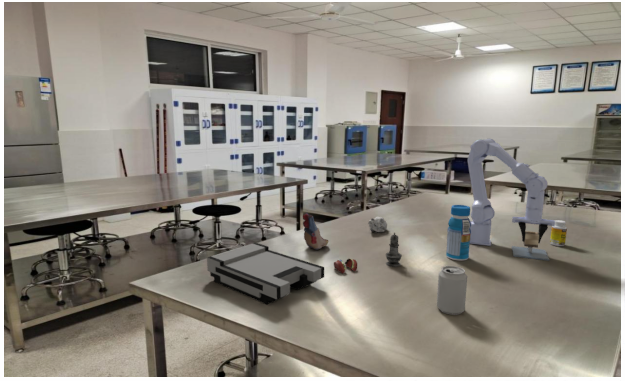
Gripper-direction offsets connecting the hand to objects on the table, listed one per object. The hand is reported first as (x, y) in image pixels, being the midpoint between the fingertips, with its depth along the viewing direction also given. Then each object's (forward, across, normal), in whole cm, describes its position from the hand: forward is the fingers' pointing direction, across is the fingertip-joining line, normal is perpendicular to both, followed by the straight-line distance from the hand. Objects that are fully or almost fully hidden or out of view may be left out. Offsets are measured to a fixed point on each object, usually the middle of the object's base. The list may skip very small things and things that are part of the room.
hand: (530, 241), depth 158 cm
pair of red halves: (+5, -61, -45) cm, 76 cm away
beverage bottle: (+5, -26, -16) cm, 31 cm away
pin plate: (+5, 0, 0) cm, 5 cm away
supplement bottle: (+5, +12, +18) cm, 22 cm away
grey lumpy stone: (+5, -63, +7) cm, 64 cm away
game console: (+6, -81, -67) cm, 105 cm away
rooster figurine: (+5, -80, -27) cm, 85 cm away
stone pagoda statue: (+5, -47, -33) cm, 58 cm away
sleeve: (+1, 0, 0) cm, 1 cm away
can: (+5, -25, -62) cm, 67 cm away
